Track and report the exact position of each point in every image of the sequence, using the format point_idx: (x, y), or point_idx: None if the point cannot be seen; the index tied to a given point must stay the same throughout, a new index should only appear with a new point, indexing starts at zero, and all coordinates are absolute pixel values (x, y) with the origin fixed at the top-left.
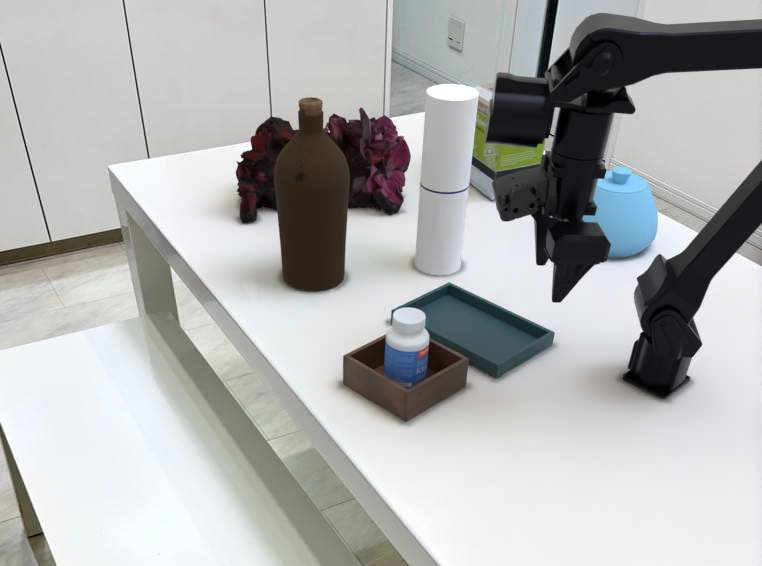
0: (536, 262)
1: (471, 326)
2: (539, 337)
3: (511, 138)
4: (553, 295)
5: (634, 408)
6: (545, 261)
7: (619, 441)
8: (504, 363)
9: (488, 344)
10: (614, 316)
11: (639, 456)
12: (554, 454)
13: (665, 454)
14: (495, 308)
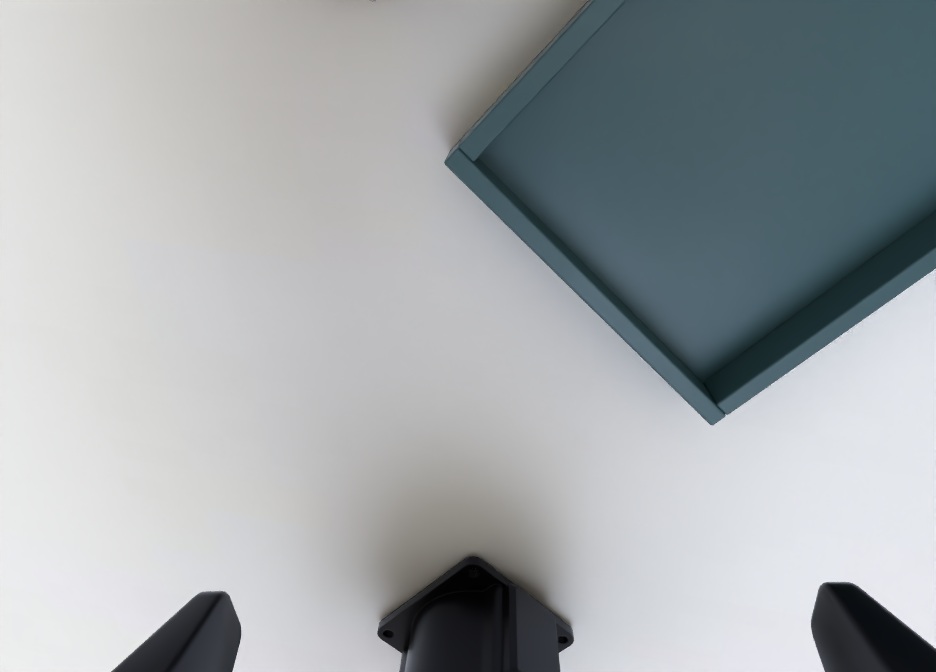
0: (840, 595)
1: (890, 62)
2: (734, 359)
3: None
4: (148, 641)
5: (328, 553)
6: (827, 659)
7: (156, 489)
8: (477, 194)
9: (704, 138)
10: None
11: (103, 521)
12: (27, 308)
13: (133, 575)
14: None
